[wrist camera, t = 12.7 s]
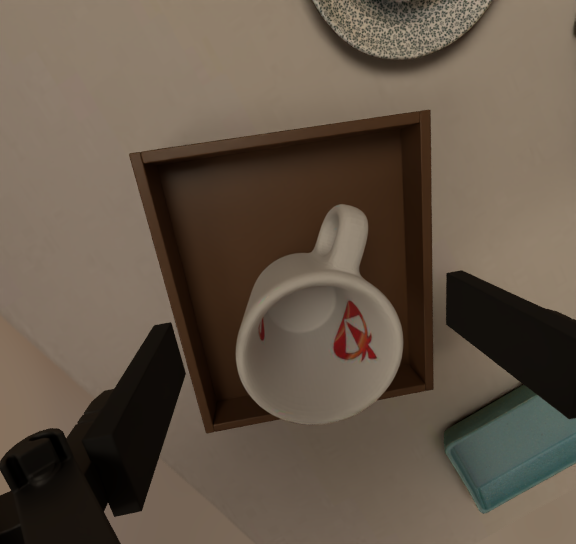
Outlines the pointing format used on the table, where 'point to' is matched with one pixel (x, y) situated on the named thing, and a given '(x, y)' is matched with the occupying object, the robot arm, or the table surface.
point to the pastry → (401, 24)
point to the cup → (319, 330)
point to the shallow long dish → (510, 447)
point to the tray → (287, 236)
